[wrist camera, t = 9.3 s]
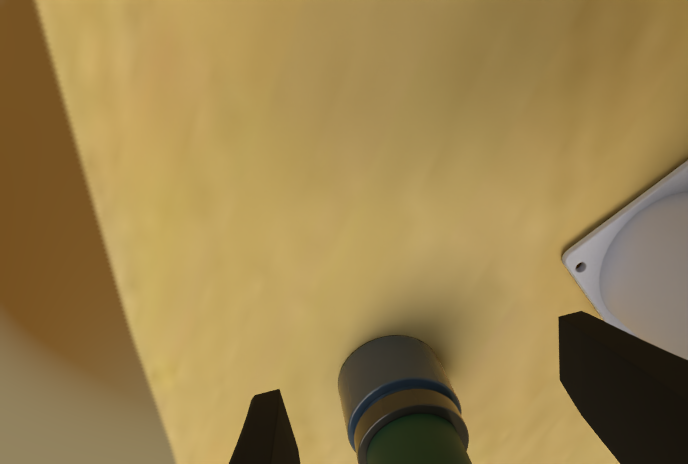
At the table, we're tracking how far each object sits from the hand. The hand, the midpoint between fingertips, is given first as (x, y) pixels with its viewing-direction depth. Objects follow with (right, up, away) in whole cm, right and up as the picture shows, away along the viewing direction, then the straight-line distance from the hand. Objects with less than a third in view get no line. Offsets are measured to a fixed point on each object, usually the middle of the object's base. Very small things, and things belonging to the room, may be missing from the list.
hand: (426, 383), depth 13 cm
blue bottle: (0, -4, +13) cm, 14 cm away
